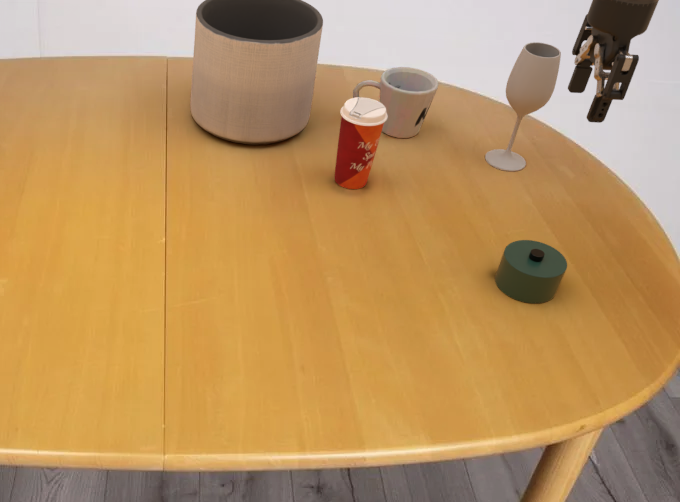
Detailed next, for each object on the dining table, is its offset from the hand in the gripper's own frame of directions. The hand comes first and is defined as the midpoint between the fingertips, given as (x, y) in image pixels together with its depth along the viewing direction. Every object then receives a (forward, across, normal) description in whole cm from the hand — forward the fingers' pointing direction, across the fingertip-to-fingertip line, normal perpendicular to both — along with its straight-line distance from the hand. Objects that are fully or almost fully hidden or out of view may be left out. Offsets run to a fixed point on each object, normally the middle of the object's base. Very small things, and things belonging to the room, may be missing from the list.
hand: (584, 105), depth 122 cm
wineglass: (+25, +26, -3) cm, 36 cm away
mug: (+25, +36, +18) cm, 47 cm away
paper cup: (+25, +17, +26) cm, 40 cm away
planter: (+25, +37, +44) cm, 62 cm away
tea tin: (+25, -9, +3) cm, 27 cm away
